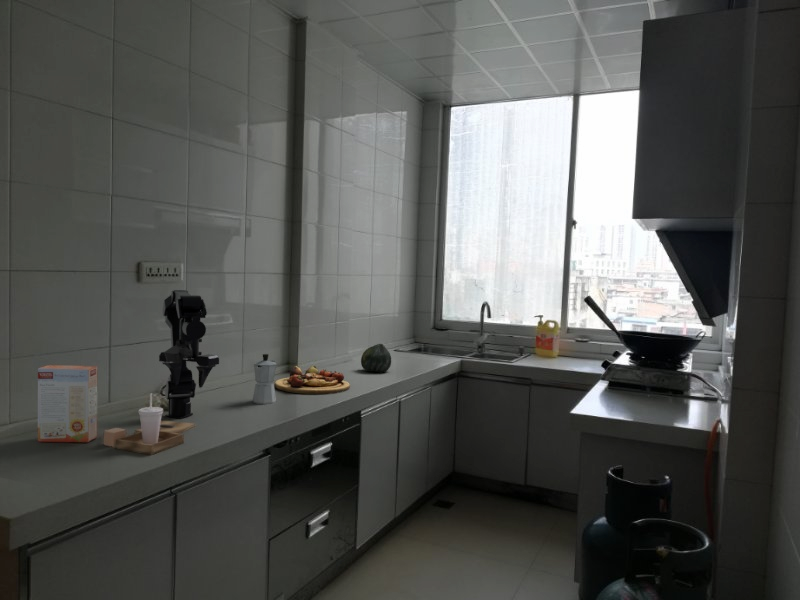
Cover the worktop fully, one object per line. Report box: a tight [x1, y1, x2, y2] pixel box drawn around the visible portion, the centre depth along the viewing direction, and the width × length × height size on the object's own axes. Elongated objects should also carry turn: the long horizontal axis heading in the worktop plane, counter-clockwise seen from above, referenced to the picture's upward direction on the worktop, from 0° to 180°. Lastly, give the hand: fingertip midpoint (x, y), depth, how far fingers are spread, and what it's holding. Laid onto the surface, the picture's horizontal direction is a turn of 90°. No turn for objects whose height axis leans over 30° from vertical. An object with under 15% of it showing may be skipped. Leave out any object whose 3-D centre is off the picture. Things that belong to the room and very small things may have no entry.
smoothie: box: [137, 392, 164, 445], centre depth 169 cm, size 6×6×14 cm
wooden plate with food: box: [273, 365, 351, 395], centre depth 259 cm, size 32×32×8 cm
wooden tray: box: [115, 430, 185, 456], centre depth 169 cm, size 12×12×2 cm
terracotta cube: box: [103, 427, 127, 448], centre depth 169 cm, size 4×4×4 cm
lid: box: [134, 420, 196, 434], centre depth 186 cm, size 12×12×1 cm
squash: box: [360, 343, 392, 373], centre depth 302 cm, size 14×15×15 cm
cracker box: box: [37, 364, 98, 443], centre depth 171 cm, size 14×6×21 cm, turn 92°
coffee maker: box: [252, 353, 277, 405], centre depth 229 cm, size 15×9×18 cm, turn 168°
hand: (188, 385), depth 188 cm, fingers open, 9 cm apart
